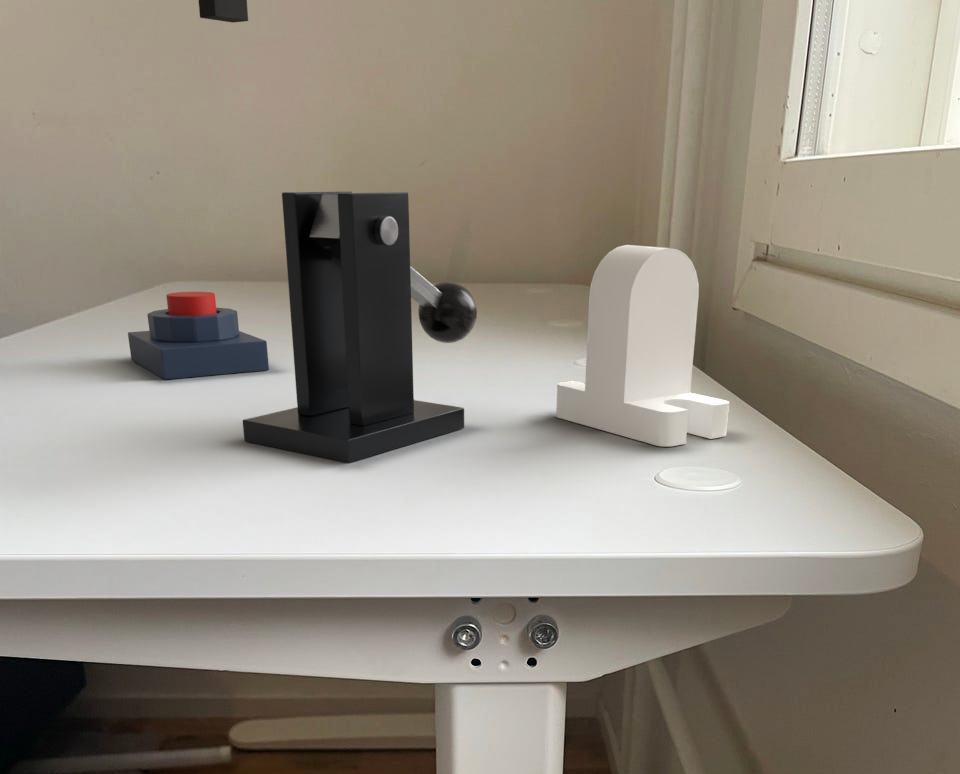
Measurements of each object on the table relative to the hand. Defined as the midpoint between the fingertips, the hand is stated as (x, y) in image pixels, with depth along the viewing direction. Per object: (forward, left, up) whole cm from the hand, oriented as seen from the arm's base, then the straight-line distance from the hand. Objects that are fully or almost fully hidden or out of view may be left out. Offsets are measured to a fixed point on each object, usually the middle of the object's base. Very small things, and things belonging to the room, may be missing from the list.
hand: (224, 19), depth 65 cm
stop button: (-8, +1, -19) cm, 21 cm away
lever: (+18, -5, -16) cm, 24 cm away
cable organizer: (+30, +3, -23) cm, 38 cm away
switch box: (-8, +1, -23) cm, 24 cm away
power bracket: (+18, -9, -23) cm, 30 cm away
